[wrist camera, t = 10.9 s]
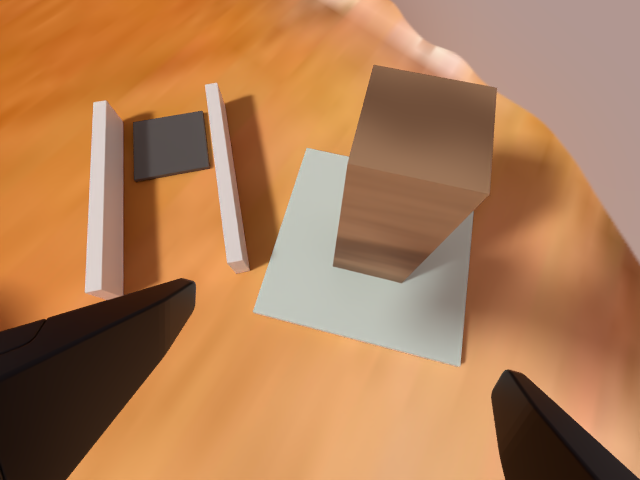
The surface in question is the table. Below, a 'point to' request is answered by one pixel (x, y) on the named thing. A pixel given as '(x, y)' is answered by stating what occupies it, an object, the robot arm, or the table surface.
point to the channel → (149, 163)
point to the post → (413, 170)
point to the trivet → (362, 277)
